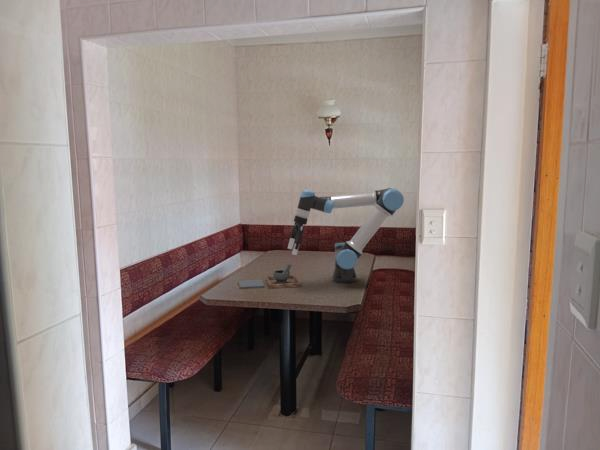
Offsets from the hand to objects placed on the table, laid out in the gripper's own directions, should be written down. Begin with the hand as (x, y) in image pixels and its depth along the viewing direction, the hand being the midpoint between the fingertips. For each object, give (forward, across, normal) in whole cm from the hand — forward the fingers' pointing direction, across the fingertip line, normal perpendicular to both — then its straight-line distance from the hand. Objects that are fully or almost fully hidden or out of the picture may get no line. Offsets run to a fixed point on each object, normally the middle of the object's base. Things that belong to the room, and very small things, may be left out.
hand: (291, 251), depth 267 cm
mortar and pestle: (+21, -6, +2) cm, 22 cm away
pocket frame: (+21, -6, +1) cm, 22 cm away
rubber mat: (+26, -7, -17) cm, 32 cm away
